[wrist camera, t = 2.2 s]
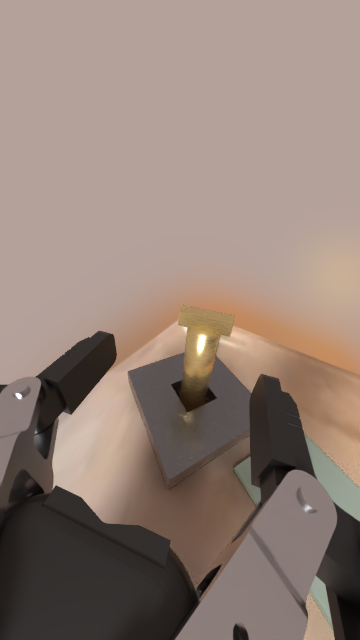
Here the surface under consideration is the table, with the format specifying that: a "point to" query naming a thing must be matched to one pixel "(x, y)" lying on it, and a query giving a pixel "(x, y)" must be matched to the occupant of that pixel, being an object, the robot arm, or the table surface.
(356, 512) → the mat
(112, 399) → the table surface
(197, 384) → the t key
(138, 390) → the cover plate
